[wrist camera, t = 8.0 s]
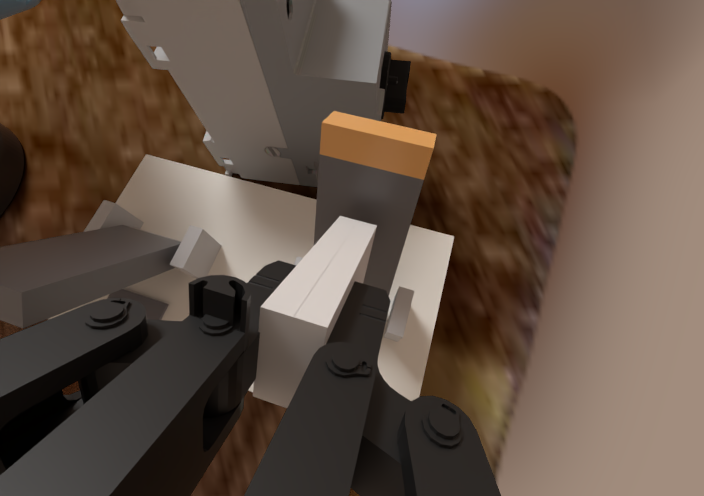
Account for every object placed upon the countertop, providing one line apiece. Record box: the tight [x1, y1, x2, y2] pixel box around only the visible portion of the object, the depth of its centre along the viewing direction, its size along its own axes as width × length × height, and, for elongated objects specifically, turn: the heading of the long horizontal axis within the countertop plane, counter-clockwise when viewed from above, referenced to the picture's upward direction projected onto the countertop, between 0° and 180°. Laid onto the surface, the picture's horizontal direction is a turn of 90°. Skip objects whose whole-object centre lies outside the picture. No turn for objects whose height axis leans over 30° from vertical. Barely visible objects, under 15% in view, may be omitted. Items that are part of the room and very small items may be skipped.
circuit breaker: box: [116, 0, 411, 187], centre depth 22 cm, size 8×14×15 cm, turn 81°
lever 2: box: [314, 111, 437, 296], centre depth 15 cm, size 4×1×10 cm, turn 73°
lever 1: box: [0, 225, 181, 328], centre depth 16 cm, size 4×1×9 cm
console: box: [48, 154, 454, 401], centre depth 21 cm, size 22×12×8 cm, turn 73°
